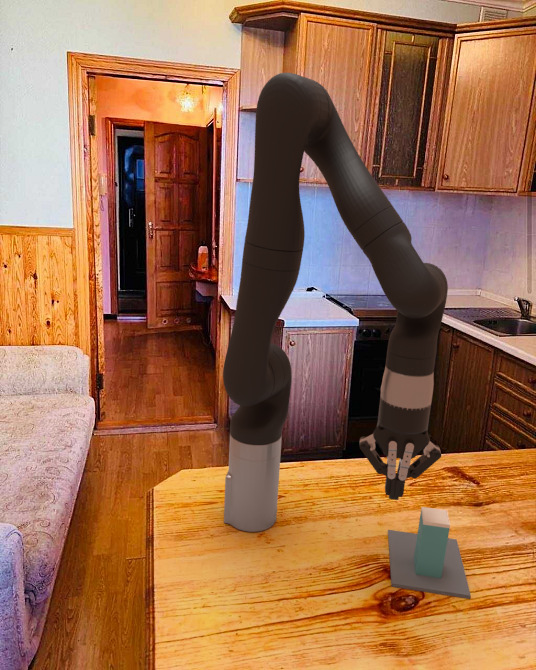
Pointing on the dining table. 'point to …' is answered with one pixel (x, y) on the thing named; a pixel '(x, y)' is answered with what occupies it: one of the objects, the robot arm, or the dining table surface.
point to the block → (431, 542)
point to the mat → (406, 577)
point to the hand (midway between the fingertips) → (393, 496)
